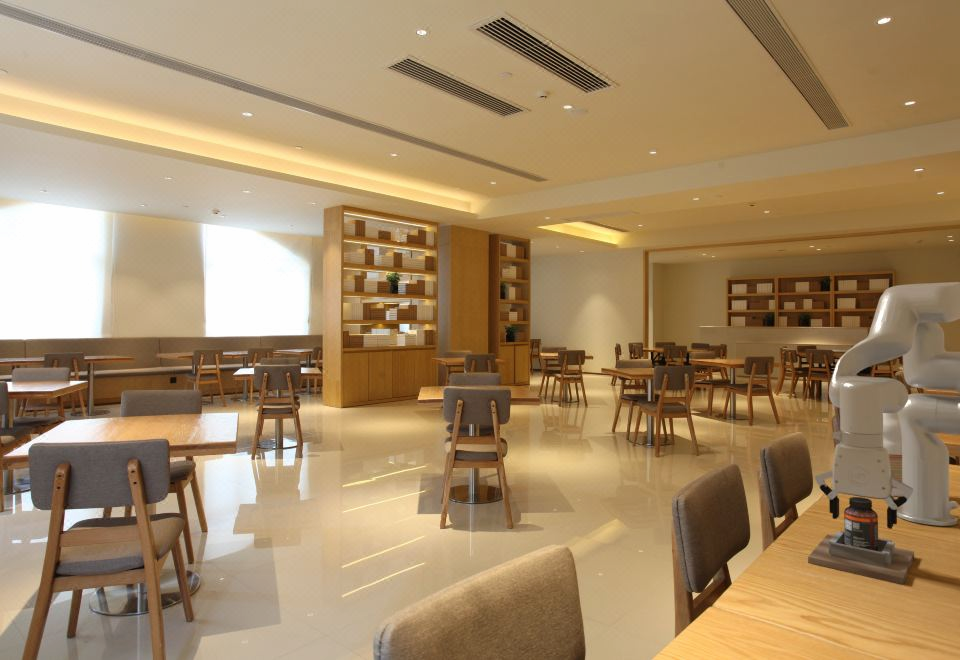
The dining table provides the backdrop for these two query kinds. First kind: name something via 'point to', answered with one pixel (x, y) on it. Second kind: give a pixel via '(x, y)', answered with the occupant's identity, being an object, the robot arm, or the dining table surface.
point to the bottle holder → (863, 558)
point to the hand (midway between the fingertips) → (862, 522)
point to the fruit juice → (893, 446)
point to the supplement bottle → (861, 524)
